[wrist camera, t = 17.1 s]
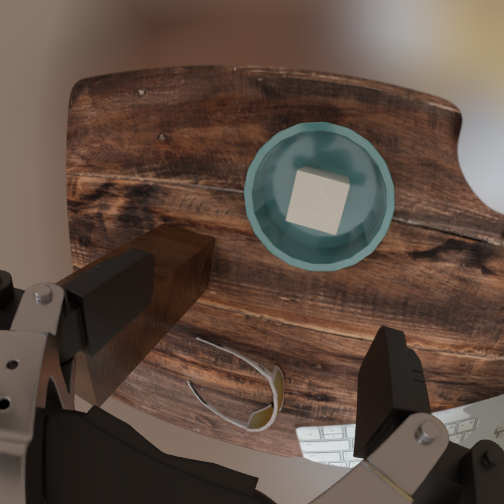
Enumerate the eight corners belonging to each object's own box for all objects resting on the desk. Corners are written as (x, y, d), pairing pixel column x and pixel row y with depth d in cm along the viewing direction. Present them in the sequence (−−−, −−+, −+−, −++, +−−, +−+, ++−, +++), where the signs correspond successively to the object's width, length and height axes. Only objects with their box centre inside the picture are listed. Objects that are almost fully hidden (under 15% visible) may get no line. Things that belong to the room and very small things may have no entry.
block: (305, 165, 30) (297, 170, 25) (349, 176, 30) (350, 184, 24) (295, 207, 32) (285, 221, 27) (337, 218, 31) (335, 235, 26)
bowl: (272, 112, 30) (260, 107, 26) (401, 147, 27) (412, 148, 23) (247, 233, 35) (232, 248, 31) (364, 268, 33) (367, 288, 28)
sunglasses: (271, 424, 45) (259, 445, 41) (192, 381, 49) (176, 398, 45) (303, 367, 39) (292, 390, 35) (207, 318, 44) (187, 335, 39)
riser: (164, 223, 38) (21, 303, 18) (215, 238, 37) (84, 344, 17) (160, 272, 41) (39, 368, 21) (207, 289, 39) (98, 409, 20)
